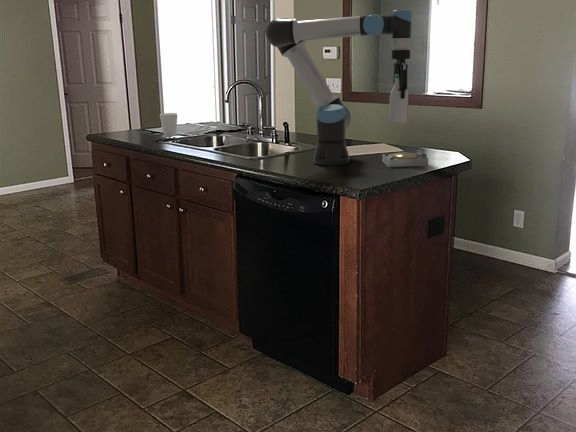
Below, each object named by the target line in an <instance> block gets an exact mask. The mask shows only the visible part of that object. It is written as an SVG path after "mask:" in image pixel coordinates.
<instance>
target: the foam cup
mask: <svg viewBox="0 0 576 432" xmlns="http://www.w3.org/2000/svg"><path fill="white" fill-rule="evenodd" d="M159 119H160V124H161V127H162V133H163V137H164V136H165V137H172V136H176V137H177V128H178V113H176V112H167V113H166V112H165V113H160V114H159ZM165 137H164V138H165Z"/></svg>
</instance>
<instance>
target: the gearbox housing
mask: <svg viewBox="0 0 576 432" xmlns="http://www.w3.org/2000/svg"><path fill="white" fill-rule="evenodd" d="M382 163H383V164H384V165H385V166H387V168H400V167H401V168H403V167H408V168H409V167H423V166H425V167H427V166H429V157H428V156H427V153H426V152H424V151H423V150H421V149H417V152H404V151H403V152H395V153H389V152H388V153H387V152H386V153H383V154H382Z"/></svg>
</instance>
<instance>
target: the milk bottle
mask: <svg viewBox="0 0 576 432" xmlns="http://www.w3.org/2000/svg"><path fill="white" fill-rule="evenodd" d="M398 89H400V87H399V75H398V74H395V83H394V86H393V85H392V89H391V90H390V94H389V108H388V109H389V111H388V122H389V123H392V124H405V123H407V122H408V116H409V114H408V112H409V91H408V88H407V89H406V97H405V107H398V101H399V91H398Z"/></svg>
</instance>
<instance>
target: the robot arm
mask: <svg viewBox="0 0 576 432" xmlns="http://www.w3.org/2000/svg"><path fill="white" fill-rule="evenodd" d="M411 34H412V11H411V10H410V9H394V10H393V11H392V14H389V15H388V14H387V15H379V14H375V13H374V14H369V15H368V14H366V15H354V16H343V17H334V18H333V17H332V18H323V19H322V18H321V19H310V20H309V19H307V20H297V19H296V18H281V17H277V18H274V19H272V20H271V21H269V22H268V24H267V26H266V28H265V37H266V39H267V40H266V41H268V43H270V44H271V46H273V47H275V48H277V50H278V51H279V52H280V54H281V56H282V57H284V58H287V59H288V60H289V62H290V64H291V65H292V67H293V69H294V72H296V75H297V76H298V77H299V78H300V80H301V82H302V84H303V86H304V88H305V89H306V91H307V92H308V94H309V95H310V98H311V99H312V100H313V102H314V104H315V105H316V107H315V112H316V129H317V130H316V132H317V133H316V135H317V136H316V137H317V138H316V141H317V144H316V148H315V151H314V155H313V164H315V165H320V166H341V165H346V164H348V163H350V154H349V152H348V148H347V145H346V129H347V128H348V127H349V125H350V123H351V118H352V117H351V113H350V112H351V111H350V110H349V108H348V107H347V106H345V105H344V104H343V102H342V99H340V96H337V95H335V94H333V92H332V90H331V89H330V87H329V85H328V84H327V82H326V80H325V78H324V77H323V75H322V74H321V72H320V70H319V68H318V67H317V65H316V64H315V63H316V62H314V60H313V58H312V56H311V55H310V53H309V52H308V50H307V48H306V47H305V45H306V42H307V41H313V40H325V39H335V38H336V39H337V38H338V39H339V38H350V37H361V36H365V37H366V36H377V35H378V36H379V35H381V36H382V35H383V36H384V35H391V36H392V37H391V49H392V50H391V59H392V60H396V61H395V62H394V63H393V76H392V77H393V80H392V81H393V82H392V83H393V84H392V87H393V86H394V83H395V74H398V75H399V87H400V89H398V91H399V101H398V107H405V97H406V89H407V90H408V63H406V60H409V59H411V50H410V49H411V44H412V40H411V38H412V35H411Z"/></svg>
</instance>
